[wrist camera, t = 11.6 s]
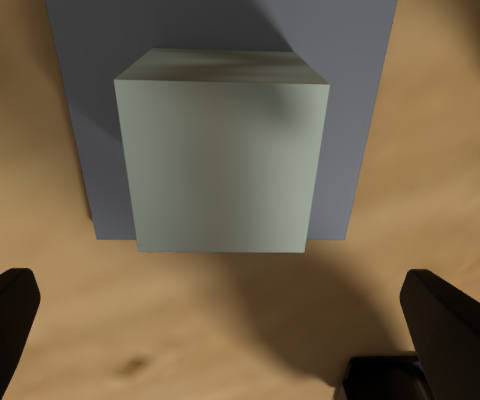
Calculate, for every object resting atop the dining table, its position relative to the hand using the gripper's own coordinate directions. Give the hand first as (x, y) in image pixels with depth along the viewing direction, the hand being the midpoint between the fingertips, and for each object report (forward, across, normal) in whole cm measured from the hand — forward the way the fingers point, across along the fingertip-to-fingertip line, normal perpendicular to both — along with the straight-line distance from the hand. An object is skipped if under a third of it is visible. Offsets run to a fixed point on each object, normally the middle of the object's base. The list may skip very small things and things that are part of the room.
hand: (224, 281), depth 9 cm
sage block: (+10, 0, -1) cm, 10 cm away
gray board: (+11, 0, -1) cm, 11 cm away
